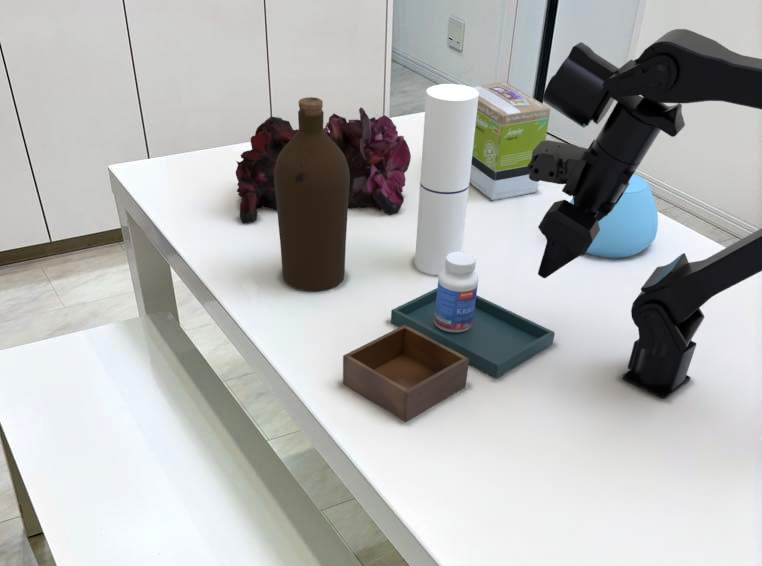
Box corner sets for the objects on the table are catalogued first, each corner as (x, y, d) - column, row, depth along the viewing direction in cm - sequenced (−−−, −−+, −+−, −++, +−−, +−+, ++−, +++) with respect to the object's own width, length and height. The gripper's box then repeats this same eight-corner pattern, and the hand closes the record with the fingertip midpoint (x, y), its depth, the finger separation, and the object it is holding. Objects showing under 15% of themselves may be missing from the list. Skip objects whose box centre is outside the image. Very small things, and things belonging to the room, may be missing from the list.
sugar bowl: (543, 228, 145) (555, 157, 137) (619, 216, 149) (635, 146, 141) (590, 267, 135) (607, 194, 127) (671, 253, 139) (692, 181, 131)
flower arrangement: (247, 234, 141) (240, 138, 131) (223, 187, 155) (215, 97, 144) (424, 213, 148) (431, 121, 138) (387, 170, 162) (391, 83, 151)
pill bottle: (457, 338, 118) (465, 271, 111) (426, 324, 121) (431, 259, 114) (480, 323, 121) (488, 257, 114) (449, 310, 124) (455, 245, 117)
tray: (552, 345, 118) (555, 332, 117) (496, 378, 112) (498, 365, 111) (447, 294, 128) (449, 281, 127) (390, 322, 122) (391, 309, 120)
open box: (465, 386, 111) (469, 358, 108) (405, 422, 105) (407, 393, 102) (402, 352, 116) (404, 324, 113) (342, 383, 111) (342, 355, 108)
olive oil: (355, 290, 129) (359, 111, 111) (285, 297, 127) (278, 117, 109) (339, 257, 136) (340, 85, 118) (273, 264, 134) (264, 90, 116)
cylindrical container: (407, 268, 134) (417, 95, 116) (426, 250, 138) (439, 80, 121) (449, 279, 131) (466, 104, 114) (467, 260, 136) (486, 89, 119)
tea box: (449, 171, 162) (457, 86, 152) (495, 163, 165) (506, 79, 155) (491, 202, 152) (502, 113, 142) (539, 193, 155) (553, 105, 145)
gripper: (580, 88, 104) (521, 199, 116) (533, 140, 92) (472, 258, 104) (660, 135, 104) (592, 242, 116) (622, 194, 92) (551, 306, 104)
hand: (552, 260), depth 110 cm, fingers open, 9 cm apart
